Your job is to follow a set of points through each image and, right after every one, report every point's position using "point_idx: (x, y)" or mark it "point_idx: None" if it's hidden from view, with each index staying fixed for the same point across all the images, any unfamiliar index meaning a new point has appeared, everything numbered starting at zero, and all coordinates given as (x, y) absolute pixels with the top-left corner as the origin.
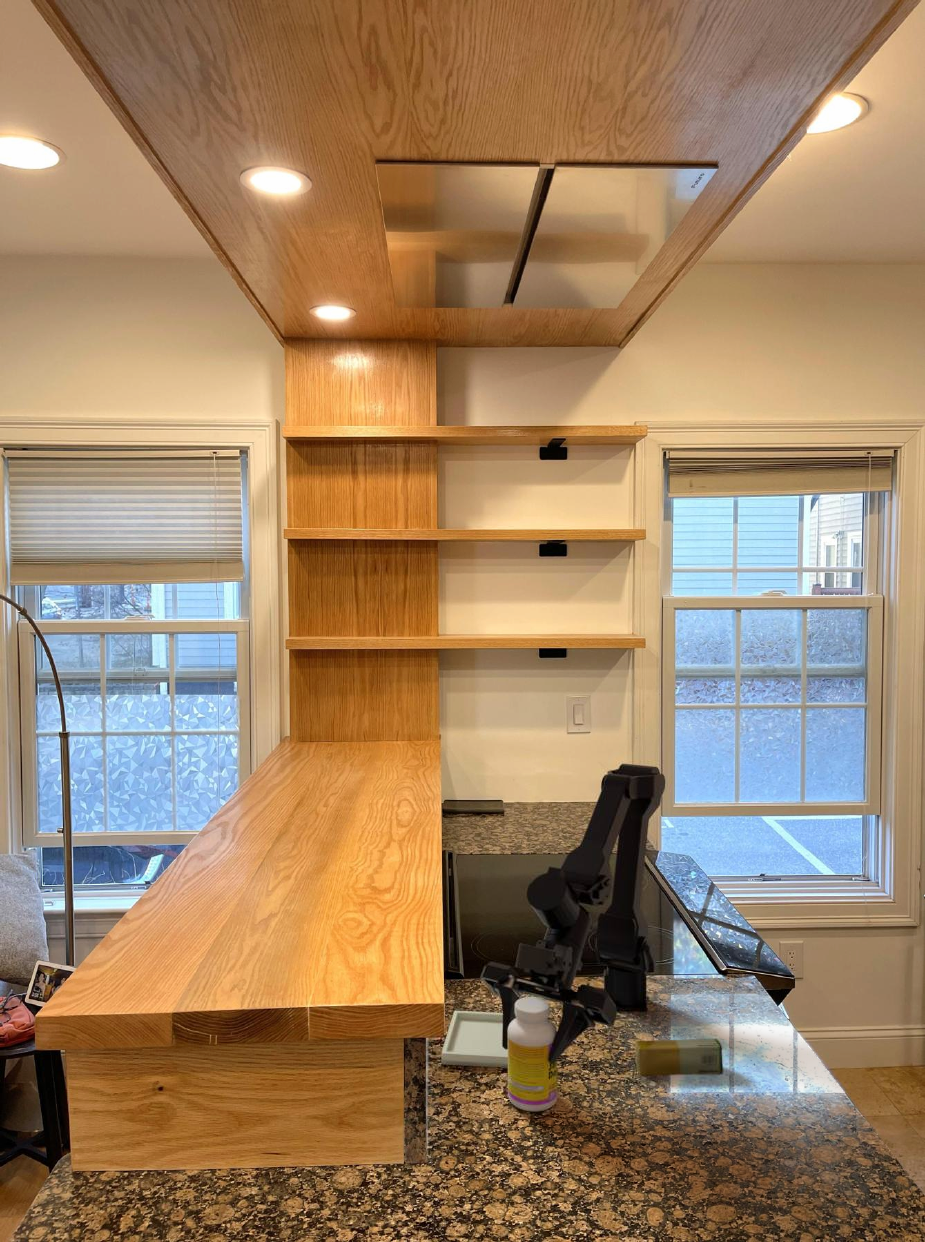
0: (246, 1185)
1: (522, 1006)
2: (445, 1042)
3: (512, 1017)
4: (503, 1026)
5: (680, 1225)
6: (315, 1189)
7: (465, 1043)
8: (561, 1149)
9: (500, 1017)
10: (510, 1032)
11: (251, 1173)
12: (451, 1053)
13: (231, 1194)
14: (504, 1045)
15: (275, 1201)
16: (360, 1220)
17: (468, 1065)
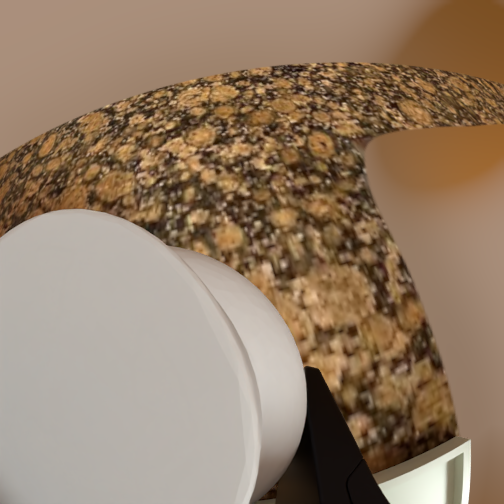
0: (473, 106)
1: (124, 338)
2: (468, 480)
3: (302, 492)
4: (342, 426)
5: (32, 144)
6: (427, 99)
7: None
8: (133, 217)
9: None
10: (268, 301)
11: (483, 119)
12: (452, 451)
13: (471, 99)
14: (307, 366)
15: (440, 90)
16: (361, 70)
17: (404, 462)
